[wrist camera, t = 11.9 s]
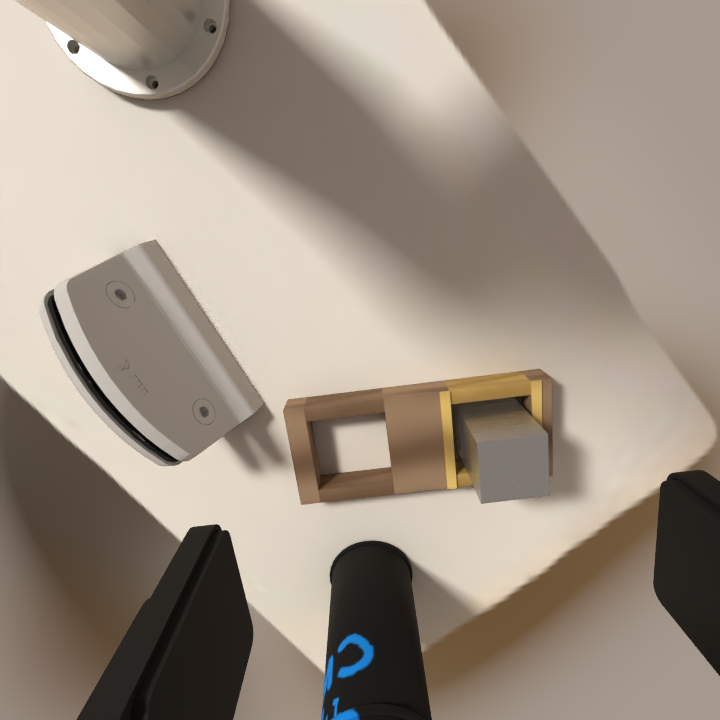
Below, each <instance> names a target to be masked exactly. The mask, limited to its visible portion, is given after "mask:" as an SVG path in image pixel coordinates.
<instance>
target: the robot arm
mask: <svg viewBox="0 0 720 720" xmlns="http://www.w3.org/2000/svg"><path fill="white" fill-rule="evenodd" d="M15 1H16V2H18V3H19V4H21V5H22V6H24V7H25V8H27V9H28V10H30V11H31V12H33V13H34V14H36V15H37V16H39V17H40V18H42V19H43V20H45V21H46V23H47V25H48V27H49V29H50V31H51V33H52V35H53V36H54V38H55V40H56V42H57V44H58V45H59V46H60V48H61V49H62V50H63V51H64V53H65V54H66V55H67V57H68V58H69V59H70V60H71V61H72V62H73V63H74V64H75V65H76V66H77V67H78V68H79V69H80V70H81V71H82V72H83V73H84V74H86V75H87V76H89V77H90V78H92V79H93V80H94V81H96V82H97V83H99V84H100V85H102V86H104V87H106V88H108V89H110V90H112V91H114V92H116V93H119V94H122V95H125V96H128V97H131V98H139V99H147V100H150V99H161V98H167V97H170V96H173V95H176V94H179V93H181V92H183V91H185V90H186V89H188V88H190V87H191V86H193V85H194V84H196V83H197V82H198V81H199V80H200V79H201V78H202V77H203V76H204V75H205V74H206V73H207V72H208V70H209V69H210V67H211V66H212V65H213V63H214V62H215V60H216V59H217V57H218V54H219V52H220V50H221V48H222V45H223V43H224V40H225V36H226V32H227V27H228V23H229V8H230V0H15ZM213 28H216V29H217V30H216V31H215V33H213V34H211V30H212V29H213ZM79 49H80V51H79ZM78 51H79V53H78ZM155 83H158V87H157V88H156V89H155ZM657 527H658V528H657V541H656V553H655V567H654V581H653V584H654V590H655V593H656V595H657V597H658V599H659V600H660V602H661V604H662V605H663V606H664V607H665V609H666V610H667V611H668V612H669V614H670V615H671V616H672V617H673V619H674V620H675V621H676V622H677V624H678V625H679V626H680V627H681V628H682V630H683V631H684V632H685V634H686V635H687V636H688V637H689V638H690V640H691V641H692V642H693V643H694V645H695V646H696V647H697V648H698V650H699V651H700V652H701V653H702V654H703V656H704V657H705V658H706V660H707V661H708V662H709V663H710V664H711V666H712V667H713V668H714V669H715V671H716V672H717V673H718V674H719V676H720V481H718V480H717V479H715V478H714V477H713V476H711V475H710V474H708V473H707V472H705V471H703V470H695V471H685V472H676V473H672V474H670V475H669V476H668V477H667V481H664V482H662V484H661V487H660V500H659V513H658V526H657ZM252 642H253V625H252V621H251V617H250V613H249V609H248V605H247V601H246V597H245V593H244V589H243V585H242V581H241V577H240V573H239V569H238V565H237V561H236V557H235V553H234V549H233V545H232V541H231V537H230V534H229V532H228V531H227V530H224V531H222V530H221V527H220V526H219V525H217V524H215V525H206V526H197V527H192V528H190V529H189V531H188V532H187V534H186V536H185V538H184V539H183V541H182V543H181V545H180V546H179V548H178V550H177V552H176V554H175V555H174V557H173V559H172V561H171V562H170V564H169V566H168V568H167V569H166V571H165V573H164V575H163V576H162V578H161V580H160V582H159V584H158V585H157V587H156V589H155V591H154V593H153V594H152V596H151V598H149V599H148V600H146V602H145V603H144V604H143V606H142V607H141V609H140V610H139V612H138V614H137V616H136V617H135V619H134V621H133V622H132V624H131V626H130V628H129V629H128V631H127V633H126V635H125V636H124V638H123V640H122V642H121V644H120V645H119V647H118V649H117V650H116V653H115V654H114V656H113V657H112V659H111V661H110V663H109V664H108V666H107V668H106V669H105V671H104V673H103V675H102V677H101V678H100V680H99V682H98V683H97V685H96V687H95V689H94V691H93V692H92V694H91V696H90V697H89V699H88V701H87V703H86V704H85V706H84V708H83V709H82V711H81V713H80V715H79V716H78V718H77V720H233V718H234V714H235V710H236V706H237V701H238V698H239V694H240V690H241V686H242V682H243V679H244V674H245V670H246V667H247V663H248V659H249V655H250V651H251V647H252Z"/></svg>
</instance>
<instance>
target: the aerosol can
mask: <svg viewBox="0 0 720 720" xmlns="http://www.w3.org/2000/svg"><path fill="white" fill-rule="evenodd" d="M412 578H413V576H412V568H411V564H410V562H409V561H408V559H407V557H406V556H405V555H404V554H403V553H402V552H401V551H400V550H399V549H397V548H396V547H394V546H392V545H390V544H387V543H384V542H379V541H364V542H359V543H356V544H353V545H351V546H349V547H347V548H346V549H344V550H343V551H342V552H341V553H340V554H339V555H338V556H337V557H336V558H335V560H334V561H333V564H332V566H331V570H330V582H331V585H332V588H331V601H330V614H329V627H328V641H327V654H326V667H325V680H324V693H323V708H322V720H432V718H431V712H430V705H429V698H428V692H427V685H426V678H425V671H424V665H423V658H422V651H421V644H420V638H419V631H418V624H417V618H416V611H415V604H414V597H413V591H412V584H411V583H412Z"/></svg>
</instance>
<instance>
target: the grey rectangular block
mask: <svg viewBox="0 0 720 720" xmlns="http://www.w3.org/2000/svg"><path fill="white" fill-rule="evenodd" d="M454 410H455V422H456V434H457V445H458V453H459V455H460V457H461V459H462V462H463V464H464V466H465V468H466V471H467V473H468V475H469V477H470V480H471V482H472V484H473V486H474V489H475V491H476V493H477V495H478V497H479V500H480V502H481V504H483V503H492V502H500V501H508V500H516V499H525V498H533V497H541V496H549V456H548V434H547V432H546V431H545V430H544V429H543V428H542V427H541V426H540V425H539V424H538V423H537V422H536V421H535V419H534V418H533V417H532V416H531V415H530V414H529V413H528V412H527V411H526V410H525V409H524V408H523V406H522V405H521V404H520V403H519V402H518V401H517V400H516V399H515V398H514V397H508V398H500V399H492V400H483V401H475V402H467V403H458V404H454Z"/></svg>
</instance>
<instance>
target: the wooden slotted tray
mask: <svg viewBox="0 0 720 720" xmlns="http://www.w3.org/2000/svg"><path fill="white" fill-rule="evenodd" d="M517 396H521V405H522V406H523V408H524V409H525V410H526V411H527V412H528V413H529V414H530V415H531V416H532V417H533V418H534V419H535V421H536V422H537V423H538V424H539V425H540V426H541V427H542V428H543V429H544V430H545V431H546V432H547V434H548V456H549V477H550V476H552V378H551V377H549V376H548V375H547V374H546V373H544V372H543V371H542V370H540V369H536V370H528V371H519V372H511V373H503V374H495V375H487V376H478V377H470V378H462V379H454V380H446V381H437V382H429V383H421V384H413V385H404V386H396V387H388V388H380V389H372V390H363V391H355V392H347V393H339V394H330V395H322V396H314V397H306V398H298V399H289V400H287V403H286V405H285V408H284V410H283V413H284V418H285V423H286V428H287V433H288V439H289V444H290V449H291V454H292V459H293V465H294V470H295V475H296V480H297V486H298V491H299V496H300V501H301V505H303V504H312V503H321V502H330V501H338V500H347V499H356V498H365V497H374V496H383V495H391V494H400V493H409V492H418V491H427V490H435V489H444V488H447V489H456V488H457V487H462V486H471V485H473V484H472V482H471V480H470V477H469V475H468V473H467V471H466V468H465V466H464V464H463V462H462V459H458V460H455V455H454V442H453V428H452V415H451V404H458V403H467V402H475V401H483V400H492V399H500V398H508V397H517ZM383 412H385V419H386V427H387V435H388V444H389V452H390V460H391V467H389V468H380V469H372V470H363V471H354V472H346V473H337V474H329V475H320V469H319V464H318V458H317V452H316V446H315V441H314V435H313V429H312V423H311V421H316V420H325V419H333V418H341V417H350V416H358V415H366V414H375V413H383Z"/></svg>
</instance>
